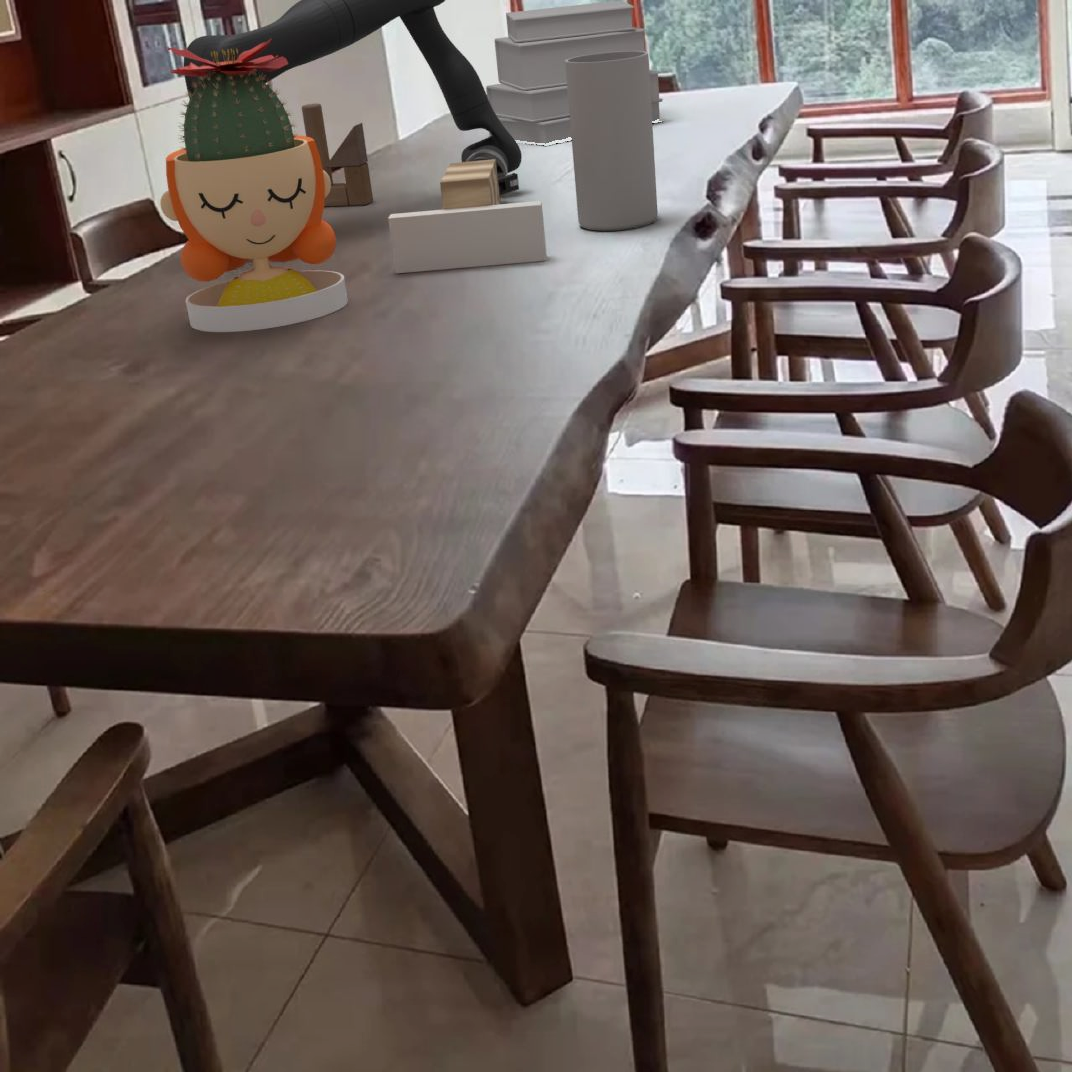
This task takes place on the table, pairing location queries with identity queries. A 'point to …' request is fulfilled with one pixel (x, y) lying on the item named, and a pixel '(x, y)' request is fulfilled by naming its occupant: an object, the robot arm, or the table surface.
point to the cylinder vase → (612, 140)
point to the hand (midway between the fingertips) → (476, 195)
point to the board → (468, 237)
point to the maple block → (470, 185)
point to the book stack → (555, 64)
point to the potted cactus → (249, 201)
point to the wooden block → (341, 160)
